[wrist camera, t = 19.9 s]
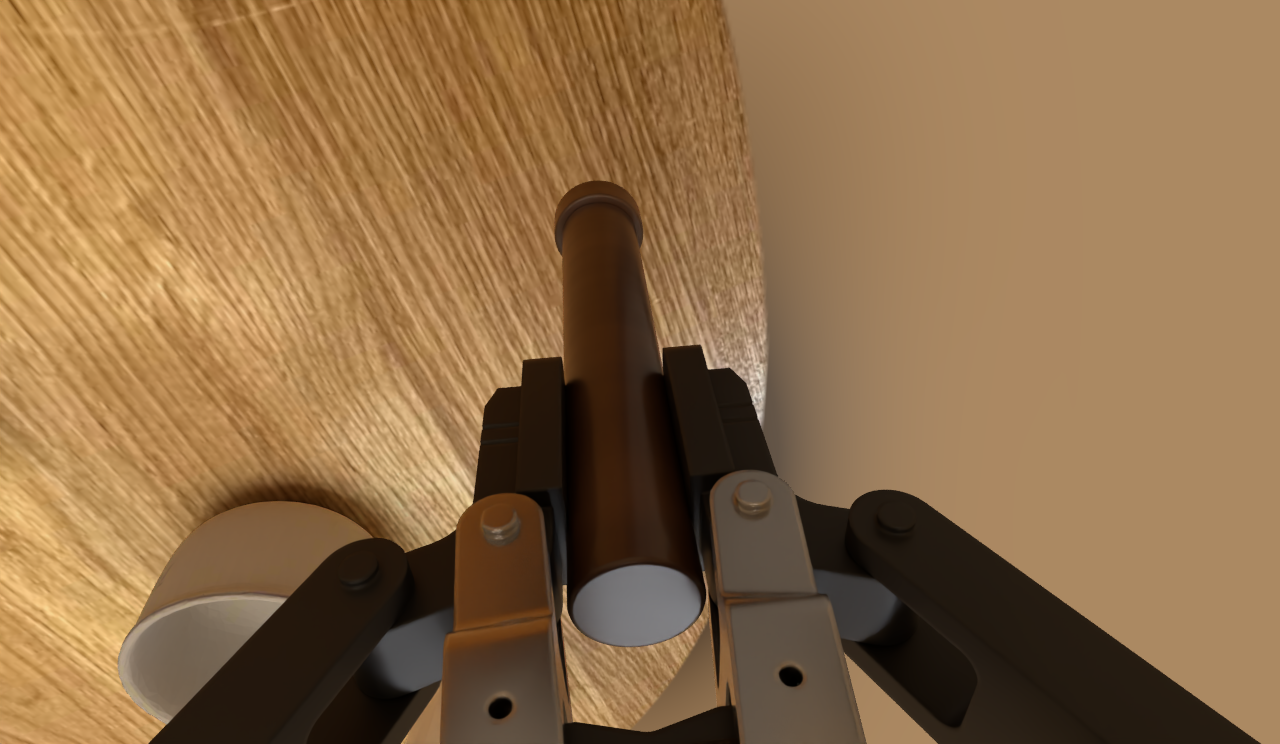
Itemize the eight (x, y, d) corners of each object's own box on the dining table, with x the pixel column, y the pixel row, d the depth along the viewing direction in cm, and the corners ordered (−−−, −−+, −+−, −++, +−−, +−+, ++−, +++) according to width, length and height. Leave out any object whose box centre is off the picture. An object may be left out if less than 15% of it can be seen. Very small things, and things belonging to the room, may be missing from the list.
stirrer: (550, 183, 21) (543, 560, 10) (638, 176, 21) (722, 542, 10) (559, 262, 22) (562, 665, 11) (642, 255, 22) (719, 648, 12)
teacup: (153, 477, 36) (66, 620, 30) (384, 457, 37) (347, 594, 30) (252, 649, 44) (200, 790, 38) (439, 631, 45) (419, 767, 38)
